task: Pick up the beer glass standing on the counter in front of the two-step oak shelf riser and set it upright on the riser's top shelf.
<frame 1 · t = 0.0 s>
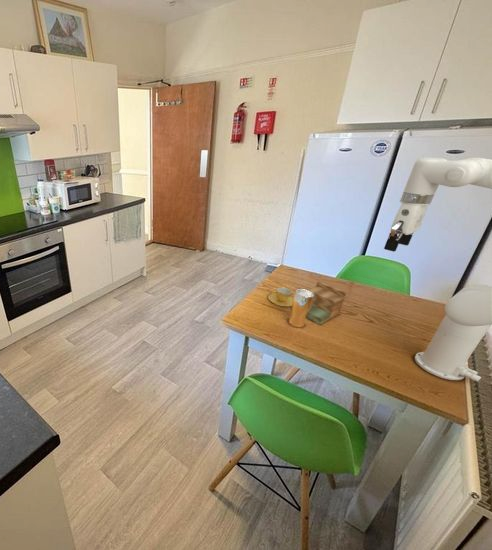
hand: (396, 247, 104), 37 cm above the table, tool pointing down, fingers open, 9 cm apart
beer glass: (296, 323, 127), on the table
shelf riser: (316, 312, 133), on the table
cup: (281, 300, 143), on the table
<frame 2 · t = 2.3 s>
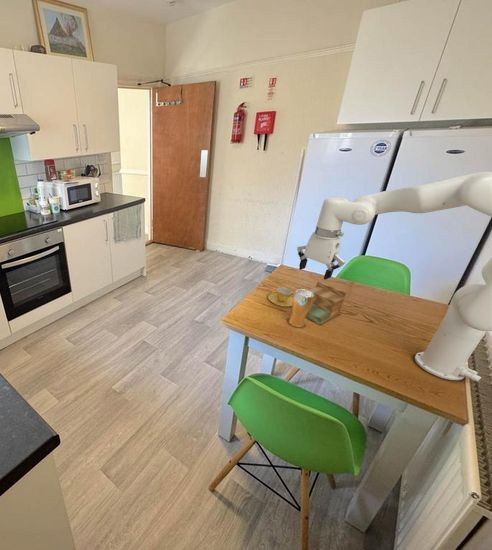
hand: (313, 273, 116), 24 cm above the table, tool pointing down, fingers open, 9 cm apart
nothing on the table moved.
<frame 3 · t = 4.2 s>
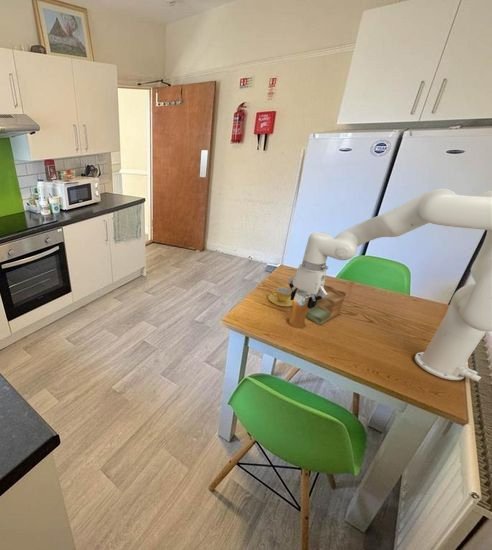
hand: (302, 303, 122), 10 cm above the table, tool pointing down, fingers closed on beer glass, 7 cm apart
beer glass: (296, 323, 127), on the table, touching gripper
everything else where it was.
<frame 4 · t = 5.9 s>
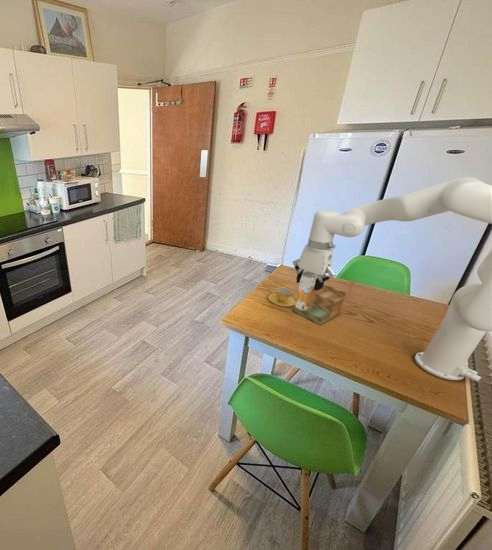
hand: (308, 285, 118), 19 cm above the table, tool pointing down, fingers closed on beer glass, 7 cm apart
beer glass: (302, 307, 123), point 8 cm above the table, touching gripper
everything else where it was.
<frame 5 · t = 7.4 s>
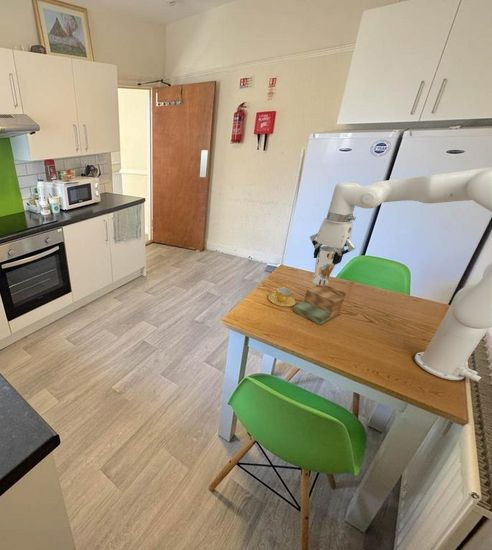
hand: (326, 260, 118), 27 cm above the table, tool pointing down, fingers closed on beer glass, 7 cm apart
beer glass: (319, 282, 123), point 17 cm above the table, touching gripper
everything else where it was.
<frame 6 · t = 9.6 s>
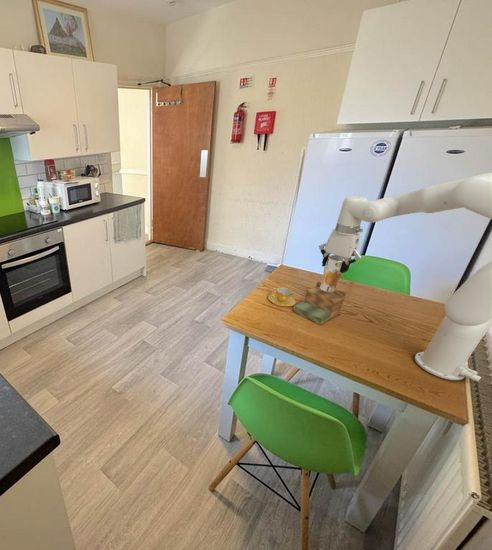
hand: (333, 268, 125), 21 cm above the table, tool pointing down, fingers closed on beer glass, 7 cm apart
beer glass: (327, 289, 130), point 11 cm above the table, touching gripper
everything else where it was.
when the fingers open (19 cm above the table, at t = 10.9 s): beer glass stays where it is, resting on shelf riser.
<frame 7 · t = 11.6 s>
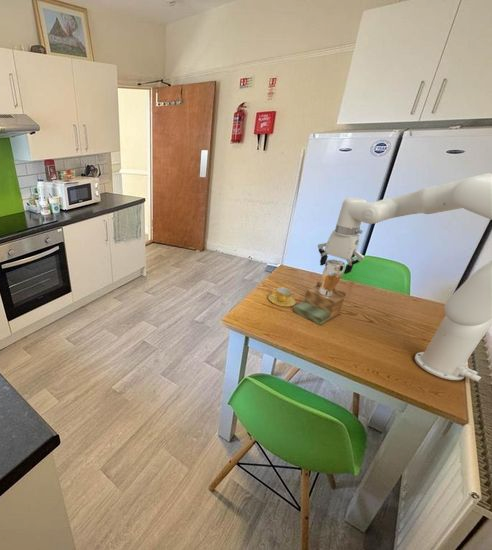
hand: (334, 268, 125), 21 cm above the table, tool pointing down, fingers open, 9 cm apart
beer glass: (325, 293, 130), point 9 cm above the table, touching shelf riser
everything else where it was.
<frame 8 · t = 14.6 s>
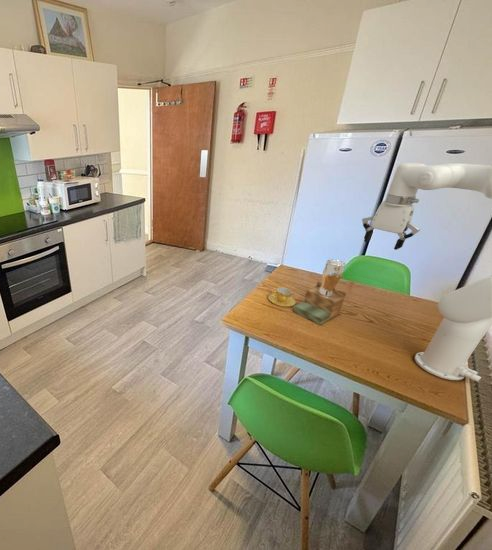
hand: (381, 244, 113), 34 cm above the table, tool pointing down, fingers open, 9 cm apart
nothing on the table moved.
at the end: beer glass inside the target area (0.5 cm from its centre), point 8.8 cm above the table; beer glass tilted 0°; the gripper is holding nothing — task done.
